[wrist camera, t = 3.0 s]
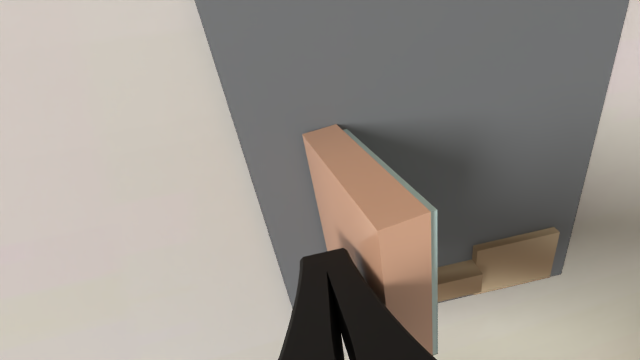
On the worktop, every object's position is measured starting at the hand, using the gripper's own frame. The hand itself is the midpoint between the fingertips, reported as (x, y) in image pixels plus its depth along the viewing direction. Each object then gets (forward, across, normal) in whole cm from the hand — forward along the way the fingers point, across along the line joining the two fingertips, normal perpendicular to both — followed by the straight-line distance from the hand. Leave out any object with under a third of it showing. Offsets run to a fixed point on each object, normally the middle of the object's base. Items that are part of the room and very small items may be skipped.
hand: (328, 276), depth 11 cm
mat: (+5, -5, 0) cm, 7 cm away
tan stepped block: (+4, -6, +6) cm, 9 cm away
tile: (+4, -1, 0) cm, 4 cm away
